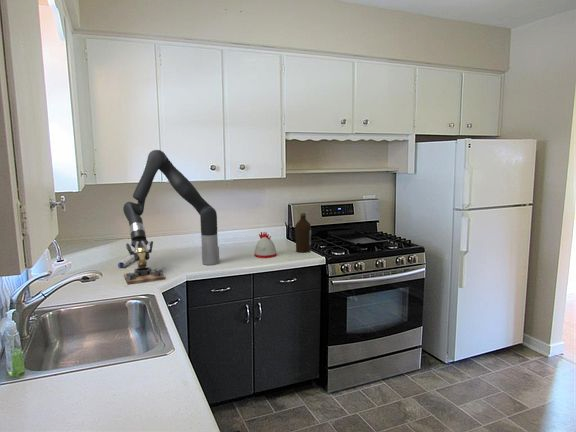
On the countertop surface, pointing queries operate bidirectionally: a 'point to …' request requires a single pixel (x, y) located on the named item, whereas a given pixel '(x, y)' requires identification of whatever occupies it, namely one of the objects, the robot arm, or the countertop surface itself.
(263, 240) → the grey pompom beanie hat
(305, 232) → the olive oil
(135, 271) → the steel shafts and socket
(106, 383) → the countertop surface
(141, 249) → the cylinder
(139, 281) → the walnut shaft board
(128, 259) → the white capped tube
